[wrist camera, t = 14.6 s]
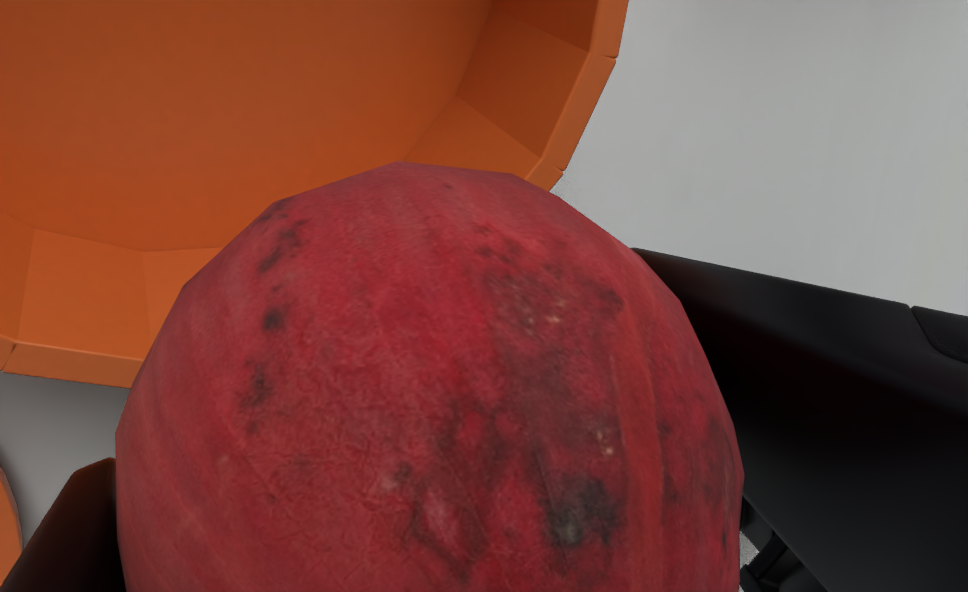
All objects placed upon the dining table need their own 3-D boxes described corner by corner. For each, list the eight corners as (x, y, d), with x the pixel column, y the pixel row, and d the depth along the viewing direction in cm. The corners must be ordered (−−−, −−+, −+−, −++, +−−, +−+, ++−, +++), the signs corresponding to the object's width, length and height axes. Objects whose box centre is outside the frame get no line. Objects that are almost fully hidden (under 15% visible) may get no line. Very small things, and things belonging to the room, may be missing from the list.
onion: (111, 47, 9) (173, 703, 2) (571, 106, 11) (1220, 488, 5) (104, 479, 11) (123, 1382, 5) (483, 446, 14) (832, 1001, 7)
